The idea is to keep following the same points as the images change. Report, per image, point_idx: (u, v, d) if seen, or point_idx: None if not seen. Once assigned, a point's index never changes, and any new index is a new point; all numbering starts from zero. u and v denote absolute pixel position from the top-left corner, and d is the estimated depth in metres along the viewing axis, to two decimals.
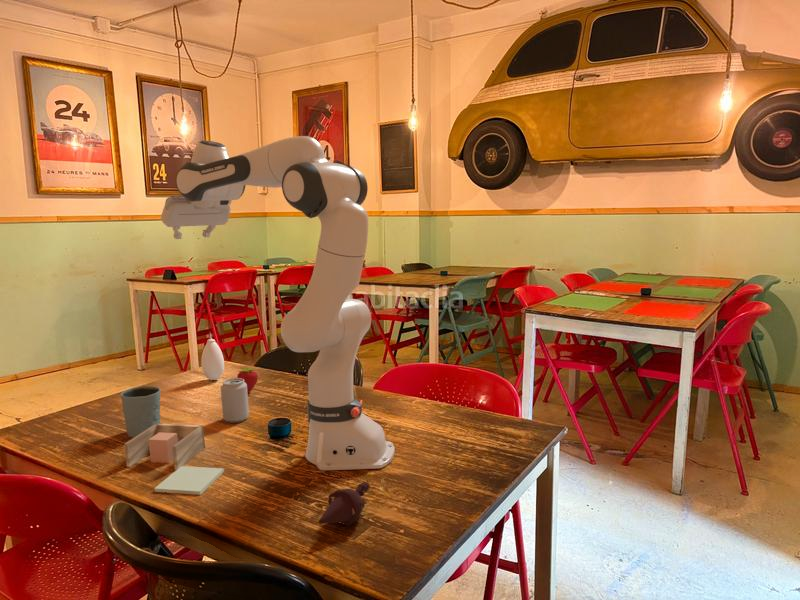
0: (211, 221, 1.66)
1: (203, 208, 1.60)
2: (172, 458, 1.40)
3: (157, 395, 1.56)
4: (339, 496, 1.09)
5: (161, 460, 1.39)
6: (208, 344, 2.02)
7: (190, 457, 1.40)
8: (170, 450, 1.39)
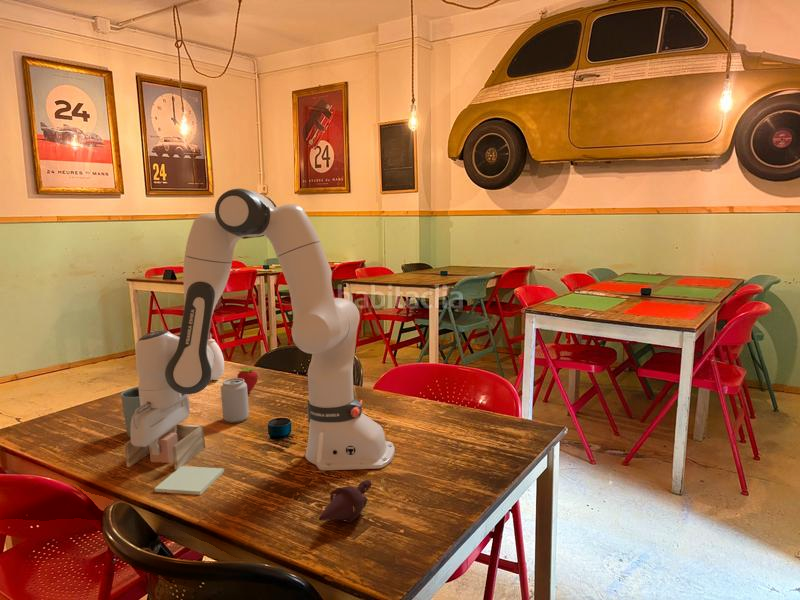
0: (177, 419, 1.43)
1: (170, 407, 1.38)
2: (172, 458, 1.40)
3: None
4: (340, 493, 1.10)
5: (161, 460, 1.39)
6: (208, 344, 2.02)
7: (190, 457, 1.40)
8: (170, 450, 1.39)
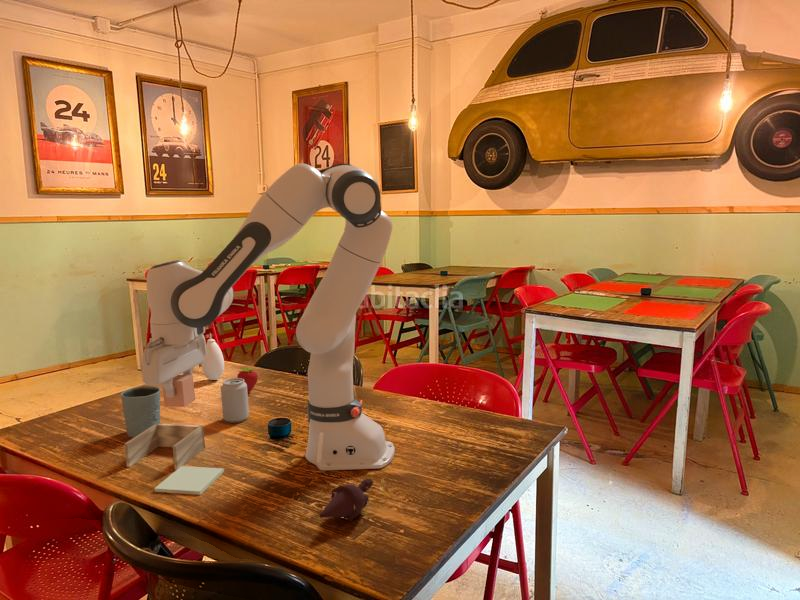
0: (193, 361, 1.31)
1: (185, 345, 1.25)
2: (188, 402, 1.27)
3: (157, 395, 1.56)
4: (341, 491, 1.11)
5: (176, 403, 1.26)
6: (208, 344, 2.02)
7: (190, 457, 1.40)
8: (185, 392, 1.26)
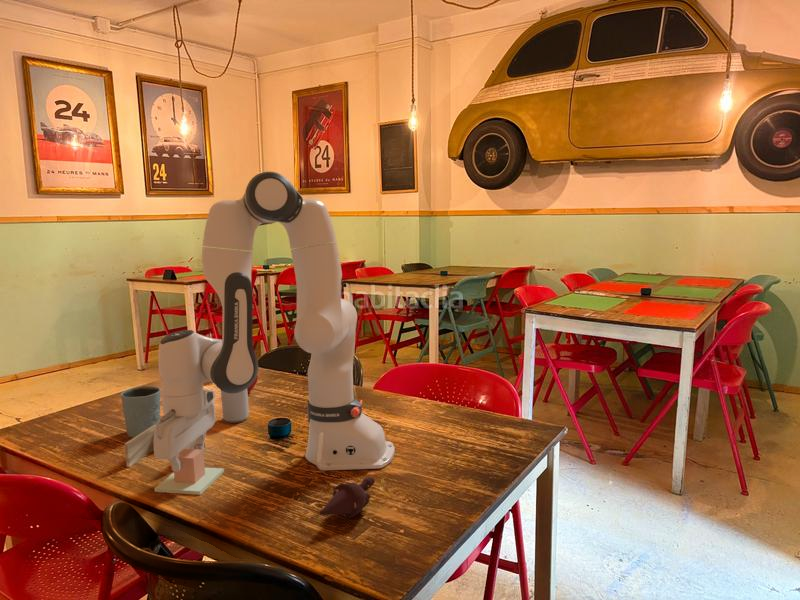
0: (203, 428, 1.31)
1: (196, 415, 1.25)
2: (198, 477, 1.27)
3: (157, 395, 1.56)
4: (343, 489, 1.12)
5: (186, 480, 1.26)
6: None
7: None
8: (196, 468, 1.27)
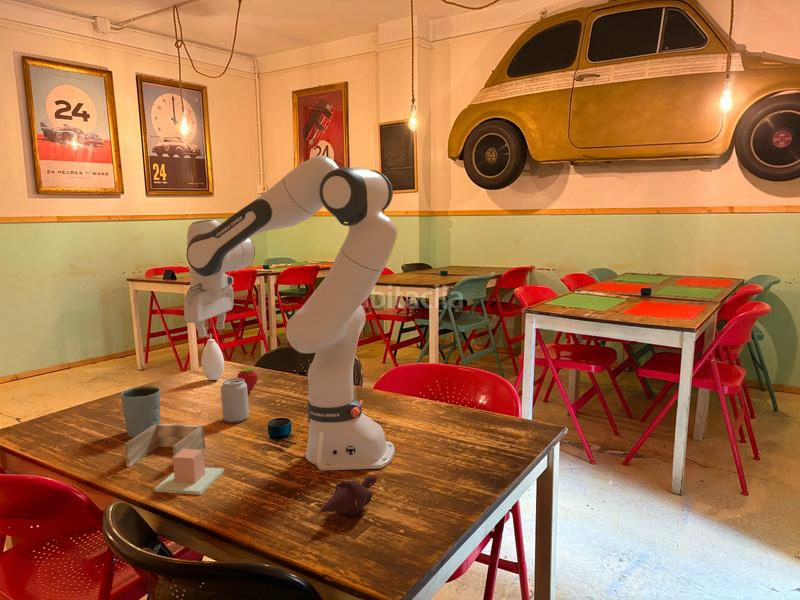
0: (223, 307, 1.53)
1: (218, 292, 1.47)
2: (198, 477, 1.27)
3: (157, 395, 1.56)
4: (344, 487, 1.13)
5: (186, 480, 1.26)
6: (208, 344, 2.02)
7: None
8: (196, 468, 1.27)
